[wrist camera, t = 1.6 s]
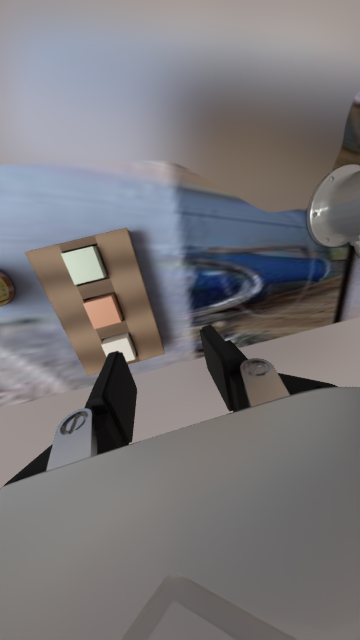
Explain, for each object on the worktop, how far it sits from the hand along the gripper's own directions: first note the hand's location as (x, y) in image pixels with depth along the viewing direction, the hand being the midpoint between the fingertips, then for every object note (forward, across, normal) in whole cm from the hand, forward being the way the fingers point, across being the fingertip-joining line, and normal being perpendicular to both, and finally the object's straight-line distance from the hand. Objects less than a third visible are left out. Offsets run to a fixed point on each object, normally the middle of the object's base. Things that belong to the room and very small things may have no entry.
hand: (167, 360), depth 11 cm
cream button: (+21, +8, +7) cm, 24 cm away
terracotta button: (+21, +8, 0) cm, 23 cm away
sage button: (+21, +9, -7) cm, 24 cm away
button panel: (+23, +8, 0) cm, 25 cm away
